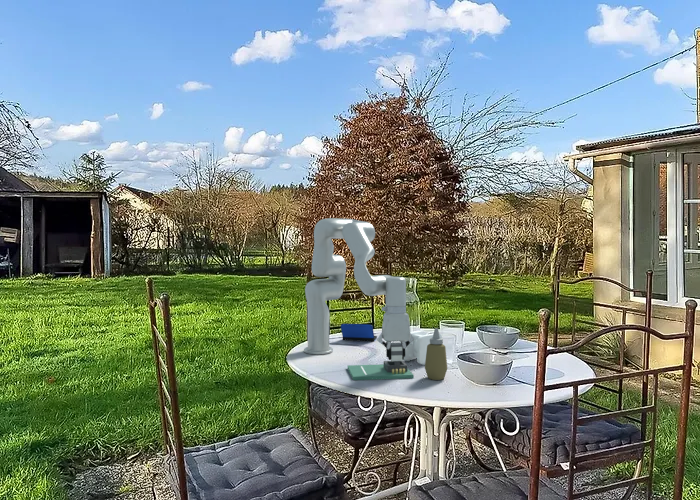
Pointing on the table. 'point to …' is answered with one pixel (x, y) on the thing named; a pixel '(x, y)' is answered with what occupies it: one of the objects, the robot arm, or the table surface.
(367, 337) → the laptop
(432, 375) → the squeeze bottle
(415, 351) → the cable organizer
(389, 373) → the board
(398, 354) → the plug
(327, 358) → the table surface
